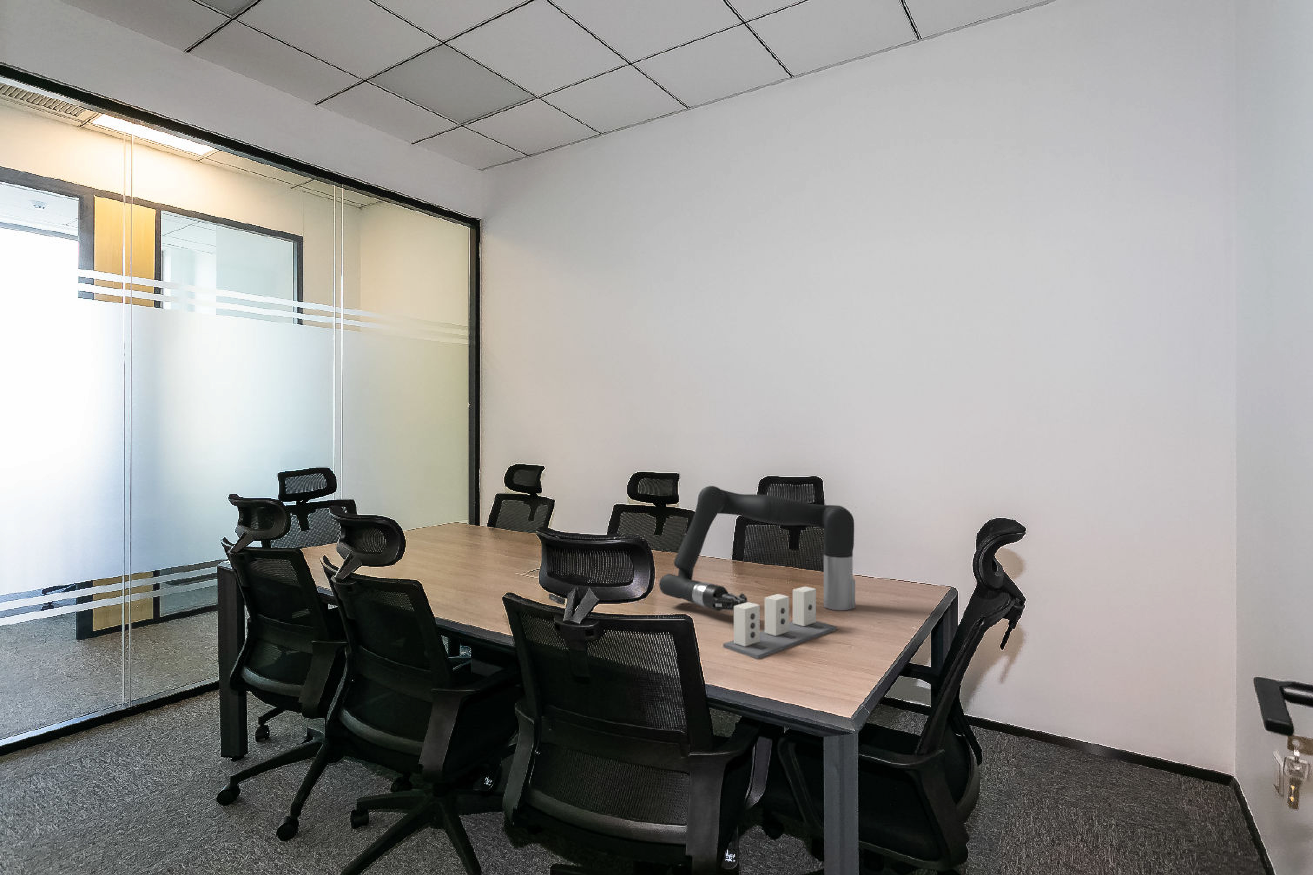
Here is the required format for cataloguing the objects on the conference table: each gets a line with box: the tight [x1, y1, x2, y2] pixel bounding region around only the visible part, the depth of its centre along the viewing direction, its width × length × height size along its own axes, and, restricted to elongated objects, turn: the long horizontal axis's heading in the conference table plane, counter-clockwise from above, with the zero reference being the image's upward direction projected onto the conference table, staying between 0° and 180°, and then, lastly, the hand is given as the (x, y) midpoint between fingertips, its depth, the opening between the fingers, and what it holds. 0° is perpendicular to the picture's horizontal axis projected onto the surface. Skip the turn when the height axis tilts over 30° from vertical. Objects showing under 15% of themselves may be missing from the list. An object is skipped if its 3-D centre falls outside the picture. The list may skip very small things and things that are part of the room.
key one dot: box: [792, 586, 817, 626], centre depth 195 cm, size 4×6×10 cm
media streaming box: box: [548, 593, 565, 606], centre depth 229 cm, size 15×15×3 cm
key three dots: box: [733, 601, 761, 646], centre depth 178 cm, size 4×6×10 cm
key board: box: [723, 620, 838, 660], centre depth 185 cm, size 12×36×1 cm, turn 131°
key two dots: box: [764, 593, 790, 636], centre depth 186 cm, size 4×6×10 cm
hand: (752, 607), depth 193 cm, fingers closed
